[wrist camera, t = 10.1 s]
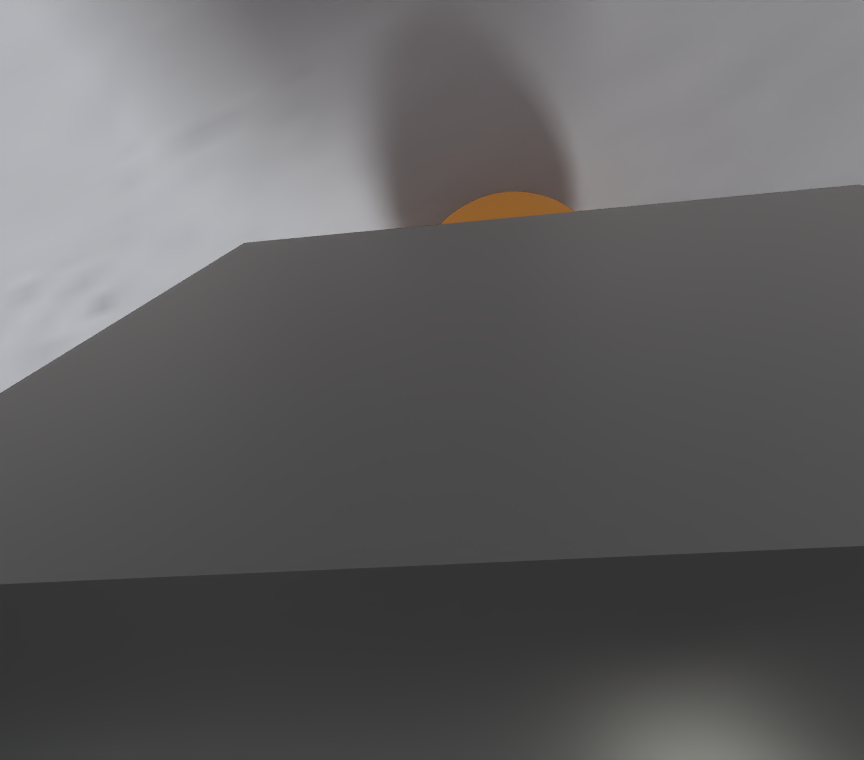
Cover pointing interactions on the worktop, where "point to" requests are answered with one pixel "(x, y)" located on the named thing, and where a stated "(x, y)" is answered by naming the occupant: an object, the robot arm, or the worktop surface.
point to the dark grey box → (455, 498)
